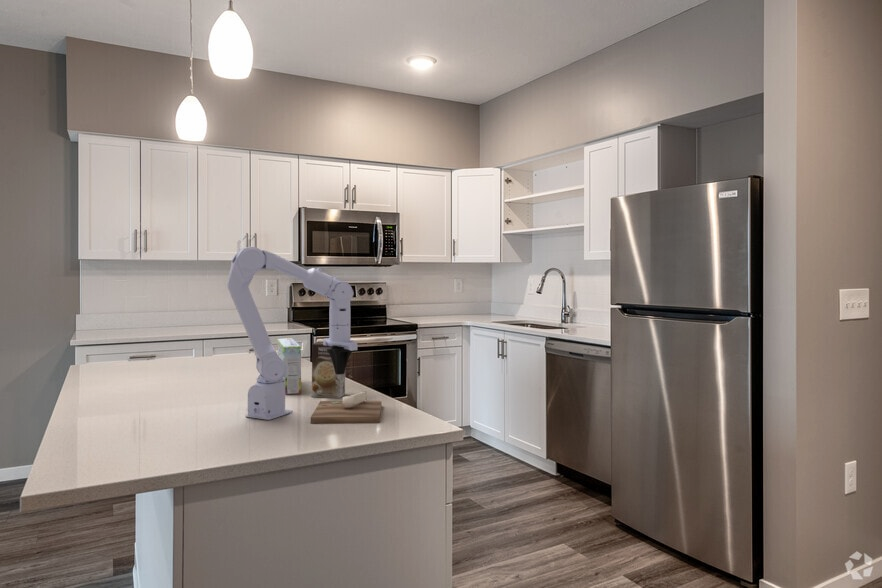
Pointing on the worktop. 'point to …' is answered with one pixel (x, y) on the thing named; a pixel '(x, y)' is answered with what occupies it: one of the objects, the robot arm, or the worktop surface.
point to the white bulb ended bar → (354, 399)
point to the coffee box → (325, 374)
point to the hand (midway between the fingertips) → (339, 374)
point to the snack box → (291, 364)
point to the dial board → (347, 412)
